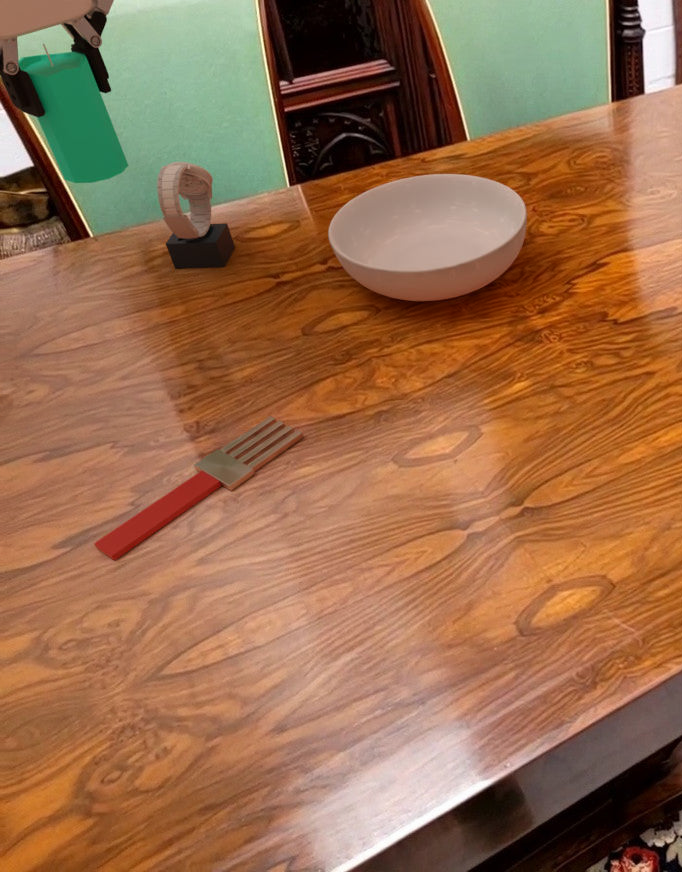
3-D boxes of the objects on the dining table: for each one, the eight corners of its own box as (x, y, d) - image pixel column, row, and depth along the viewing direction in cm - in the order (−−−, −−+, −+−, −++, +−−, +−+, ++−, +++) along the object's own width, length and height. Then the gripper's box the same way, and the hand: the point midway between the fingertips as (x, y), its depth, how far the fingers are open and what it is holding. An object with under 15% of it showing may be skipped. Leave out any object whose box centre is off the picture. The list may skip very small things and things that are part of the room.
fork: (123, 567, 72) (120, 562, 72) (87, 542, 74) (84, 537, 74) (305, 438, 83) (304, 433, 83) (270, 419, 85) (268, 414, 85)
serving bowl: (322, 254, 107) (307, 199, 103) (493, 212, 114) (487, 159, 110) (370, 348, 93) (355, 289, 89) (562, 293, 100) (557, 236, 96)
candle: (48, 180, 90) (-10, 53, 82) (88, 154, 95) (37, 31, 87) (103, 185, 89) (49, 57, 81) (141, 159, 94) (94, 35, 86)
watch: (239, 239, 110) (210, 150, 103) (219, 275, 104) (187, 183, 97) (191, 240, 110) (159, 151, 103) (169, 276, 104) (132, 185, 97)
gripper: (48, -141, 83) (124, 65, 94) (-163, -104, 72) (-47, 124, 84) (99, -133, 79) (171, 80, 91) (-114, -92, 69) (-1, 143, 80)
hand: (66, 99), depth 87 cm, fingers closed on candle, 6 cm apart
